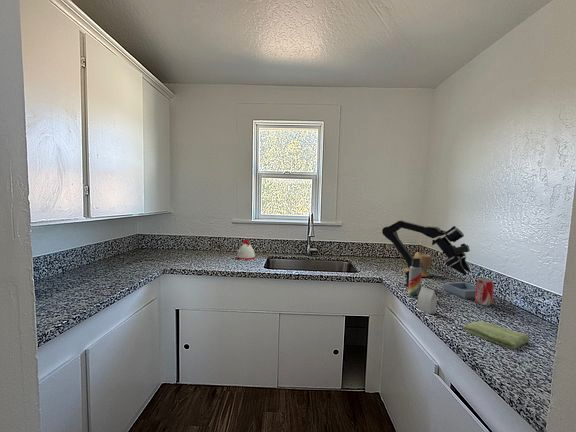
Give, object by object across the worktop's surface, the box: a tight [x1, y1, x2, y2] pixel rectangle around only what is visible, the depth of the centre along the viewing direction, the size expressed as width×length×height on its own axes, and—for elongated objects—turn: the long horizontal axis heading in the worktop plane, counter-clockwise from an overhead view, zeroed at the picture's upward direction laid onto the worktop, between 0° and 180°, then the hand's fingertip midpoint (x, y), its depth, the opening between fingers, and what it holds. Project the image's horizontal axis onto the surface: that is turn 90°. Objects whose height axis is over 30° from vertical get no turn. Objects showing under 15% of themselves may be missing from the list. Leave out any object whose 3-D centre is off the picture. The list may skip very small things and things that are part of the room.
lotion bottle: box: [407, 257, 422, 299], centre depth 150 cm, size 6×6×20 cm
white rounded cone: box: [236, 238, 256, 261], centre depth 230 cm, size 14×14×15 cm
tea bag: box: [417, 286, 438, 315], centre depth 132 cm, size 4×7×10 cm, turn 24°
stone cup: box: [403, 251, 432, 278], centre depth 193 cm, size 15×12×15 cm
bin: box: [443, 281, 476, 300], centre depth 157 cm, size 14×14×4 cm
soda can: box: [474, 277, 495, 307], centre depth 142 cm, size 7×7×12 cm
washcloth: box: [462, 320, 530, 350], centre depth 108 cm, size 13×18×3 cm
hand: (467, 272), depth 149 cm, fingers open, 9 cm apart
